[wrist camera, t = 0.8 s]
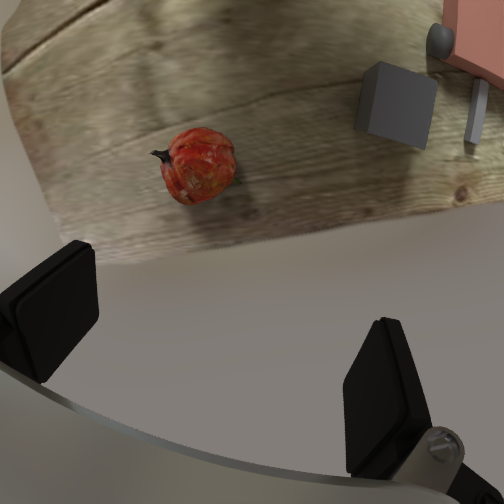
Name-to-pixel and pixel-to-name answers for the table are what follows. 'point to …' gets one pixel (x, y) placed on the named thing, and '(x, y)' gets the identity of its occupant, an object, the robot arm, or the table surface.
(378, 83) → the dark grey rounded cube
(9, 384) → the robot arm
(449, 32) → the toy tractor cart
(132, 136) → the table surface
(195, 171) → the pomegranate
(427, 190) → the table surface
